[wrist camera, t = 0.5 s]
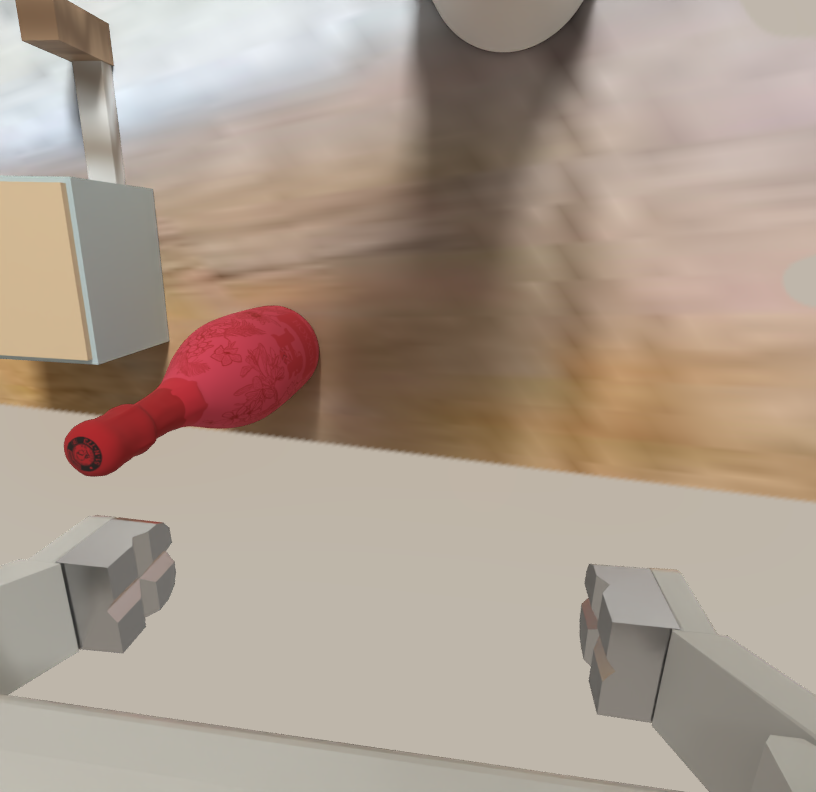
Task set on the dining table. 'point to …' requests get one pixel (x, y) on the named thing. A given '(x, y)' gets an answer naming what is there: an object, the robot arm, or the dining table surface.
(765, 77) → the dining table surface
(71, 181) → the cabinet
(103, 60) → the wood-handled metal tool
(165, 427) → the wine bottle
